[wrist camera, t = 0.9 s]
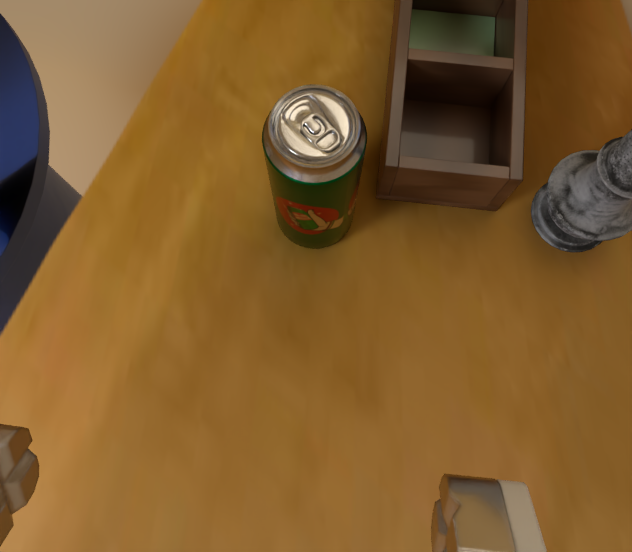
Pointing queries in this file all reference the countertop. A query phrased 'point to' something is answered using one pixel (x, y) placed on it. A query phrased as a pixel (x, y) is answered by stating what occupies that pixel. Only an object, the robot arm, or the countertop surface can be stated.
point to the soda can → (314, 163)
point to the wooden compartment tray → (455, 103)
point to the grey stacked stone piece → (587, 198)
